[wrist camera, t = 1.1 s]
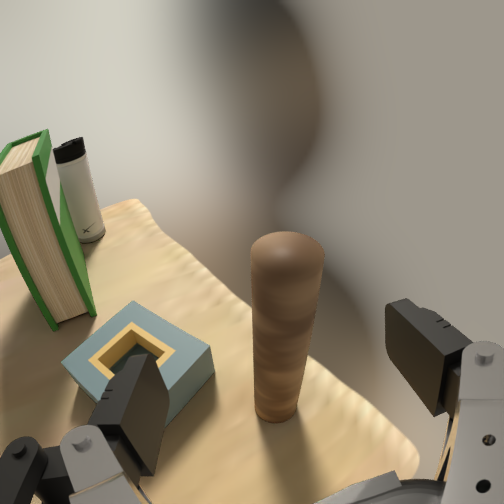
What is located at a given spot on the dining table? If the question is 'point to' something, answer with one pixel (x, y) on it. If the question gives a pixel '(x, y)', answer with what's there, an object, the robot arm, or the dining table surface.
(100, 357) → the socket block
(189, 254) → the dining table surface
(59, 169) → the travel mug
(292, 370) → the peg
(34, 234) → the hardback book
